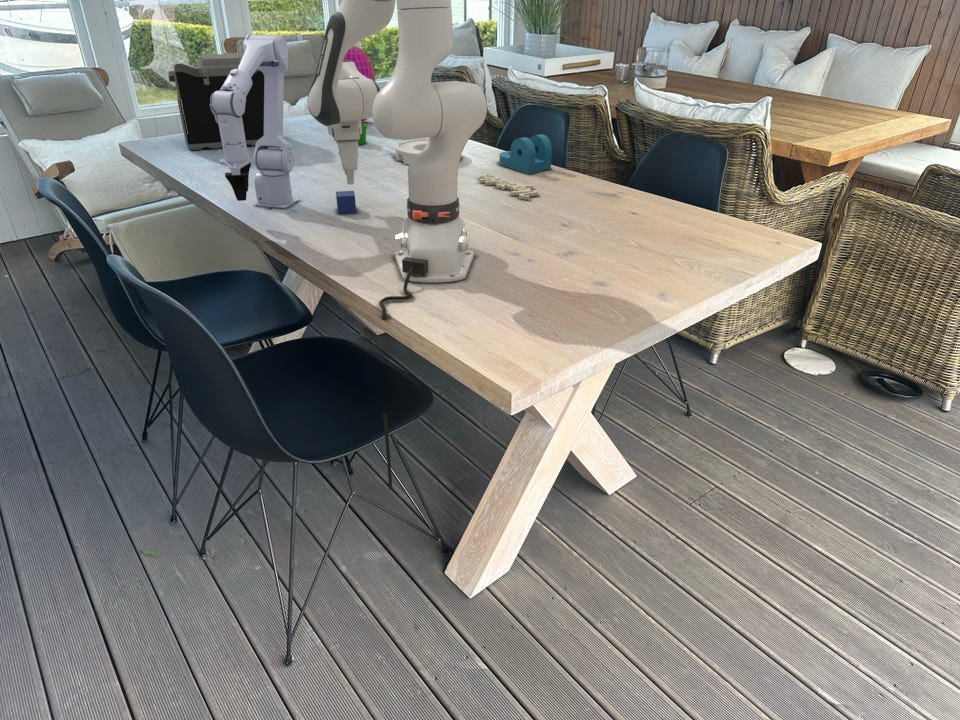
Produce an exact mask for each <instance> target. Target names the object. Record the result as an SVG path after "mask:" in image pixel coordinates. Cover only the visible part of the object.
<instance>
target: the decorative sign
mask: <svg viewBox="0 0 960 720" xmlns="http://www.w3.org/2000/svg"><path fill="white" fill-rule="evenodd" d="M479 183H480V184H485V186H495V187H496V189H501V190H503V191H504V190H510V196H515V197H516V196H518V199H521V200H526V201H527V200H530V197H537V196H538V193H539V191H538V190H535V189H534V185H533V184H519V183H515V182H513V181H510V180H508V179H504V178H501V177H500V176H497V175H493V174H491V173H485V174H484V175H482V174H479Z"/></svg>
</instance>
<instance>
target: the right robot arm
mask: <svg viewBox="0 0 960 720" xmlns="http://www.w3.org/2000/svg"><path fill="white" fill-rule="evenodd" d="M395 8H396V10H397V11H396V15H397V27H398V29H397V31H398V52H397V53H398V54H397V58H396V63H395V66H394V69H393V71H392V74H391V75H390V78H389V80H388V81H387V82H386V83H385V85H383V87H382V88H380V86H379V84H378V83H375V82H374V81H373V80H372V79H368V78H366V77H365V76H363V75H362V74H361V73H360V72H359V71H358V70H357V68H356V66H355V63H354V62H352V61H349V60H344V57H345V54H346V53H347V51H348V50H349V49H350V48H351V47H352V46H356V44H357V43H359V42H361V41H364V40H365V39H367V38H369V37H371V36H375V35H377V34H378V33H380V32H382V31H383V30H384V29H385V28H386V27H387V26H388V25H389V24H390V23H391V20H392V18H393V16H394V12H395ZM452 9H453V7H452V0H341V3H340V5H339V6H338V8H337V10H335V12H334V13H332V14H331V16H330V17H329V19H328V22H327V25H326V28H325V31H324V36H323V39H322V44H321V49H320V52H319V55H318V56H319V57H318V61H317V66H316V69H315V74H314V77H313V80H312V82H311V85H310V87H309V90H308V93H307V108H308V111H309V113H310V115H311V117H312V118H313V119H315V121H317V122H318V123H319V124H322V125H323V126H325V127H327V133H328V135H329V136H331V137H332V138H333V141H334V142H335V144H336V145H337V149H338V154H339V157H340V158H339V159H340V163H341V166H342V170H343V171H344V175H345V176H346V183H347V185H354V184H355V171H357V170H358V164H359V144H358V140H359V139H360V135H361V133H362V124H361V123H362V122H361V119H366V120H368V119H372V120H373V124H374V126H375V128H376V129H377V131H378V132H379V133H380V134H381V135H382V136H383V137H384V138H386V139H394V140H404V141H407V140H414V139H429V141H428V143H427V145H426V147H425V148H424V149H423V151H422V152H420V153H419V154H418V155H416V156H415V157H414V158H413V159H412V160H411V162H410V164H409V165H408V168H407V184H408V186H407V187H408V198H407V199H406V211H407V213H406V214H407V217H406V218H405V219H404V220H403V221H402V223H401V231H402V232H400V233H398V234H396V235H395V239H396V240H398V239H401V238H402V242H401V244H400V247H401V249H400V250H397V251H395V252H394V259H395V262H396V264H397V267H398V269H399V272H400V274H401V277H402V279H403V280H404V283H403V289H402V290H403V292H404V294H406V295H401V296H400V295H393V296H385V297H383V298H382V299H380V300H379V301H378V304H379V307H380V308H381V320H382V321H385V320H387V308H386V306H385V304H384V303H385V302H387V301H406V300H410V299H411V298H412V297H413V293H412V292H411V291H409V290H408V285H409V282H414V283H431V284H433V283H435V284H437V283H451V282H457V281H461V280H464V279H466V277H467V274H468V273H469V269H470V267H471V265H472V262H473V260H474V257H475V251H473V250H471V249H468V245H469V243H468V242H467V241H466V238H467V236H468V232H467V231H466V221H465V220H464V219H463V218H461V216H460V208H461V207H460V206H461V205H460V198H459V197H458V175H459V166H460V160H461V159H460V157H461V158H462V154H463V152H464V149H465V147H466V145H467V143H469V140H470V139H471V137H472V136H473V135H474V133H476V132H477V131H478V130H479V129H480V128H481V127H482V126H483V124H484V122H485V120H486V117H487V113H488V103H487V98H486V95H485V94H484V92H483V90H482V89H481V87H480V86H479V85H478V84H476V83H472V82H467V81H459V80H450V81H449V80H448V81H435V82H432V75H433V73H434V70H435V68H436V67H437V65H439V64H441V63H442V62H443V61H445V60H446V59H447V58H448V57H449V56H450V55H451V52H452V51H453V47H454V31H453V11H452ZM343 60H344V61H343ZM382 417H383V430H384V442H385V453H386V466H387V477H388V490H389V491H392V490H393V477H392V462H391V450H390V449H391V448H390V436H389V425H388V413H386V412H385V413H382Z"/></svg>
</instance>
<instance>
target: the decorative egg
mask: <svg viewBox="0 0 960 720" xmlns="http://www.w3.org/2000/svg"><path fill="white" fill-rule="evenodd" d="M344 60H349V61H352V62H354V63H355V66H356V68H357V70H358V71H359V72H360V73H361V74H362V75H363V76H365V77H366V78H368V79H372V80H373V81H374V82H375V83H376V82H377V81H376V75H375V71H374V68H373V63H372V62H371V60H370V57H369V56H368V54H367V53H366V51H365V50H363V48H361V47H359V46H357V45H353V46H352V47H351V48H350V49H349V50H348V51H347V53H346V54H345V57H344ZM344 60H343V61H344ZM376 84H377V83H376ZM366 120H367V119H361V123H364V122H365V121H366Z"/></svg>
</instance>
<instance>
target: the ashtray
mask: <svg viewBox="0 0 960 720" xmlns="http://www.w3.org/2000/svg"><path fill="white" fill-rule="evenodd" d="M428 141H429V138H419V139H410V140H404V141H399V142H398V143H396V144H395V146H394V150H395V151H394V152H395V153H394V154H395V160H396V161H397V162H403V164H404V165H408V166H409V164H410V162H411V160H412V159H413V158H414V157H415V156H416V155H418V154H419V153H420V152H422V151H423V149H424V148H425V147H426V145H427V143H428ZM461 158H462V156H461V157H460V160H462V159H461Z"/></svg>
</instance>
